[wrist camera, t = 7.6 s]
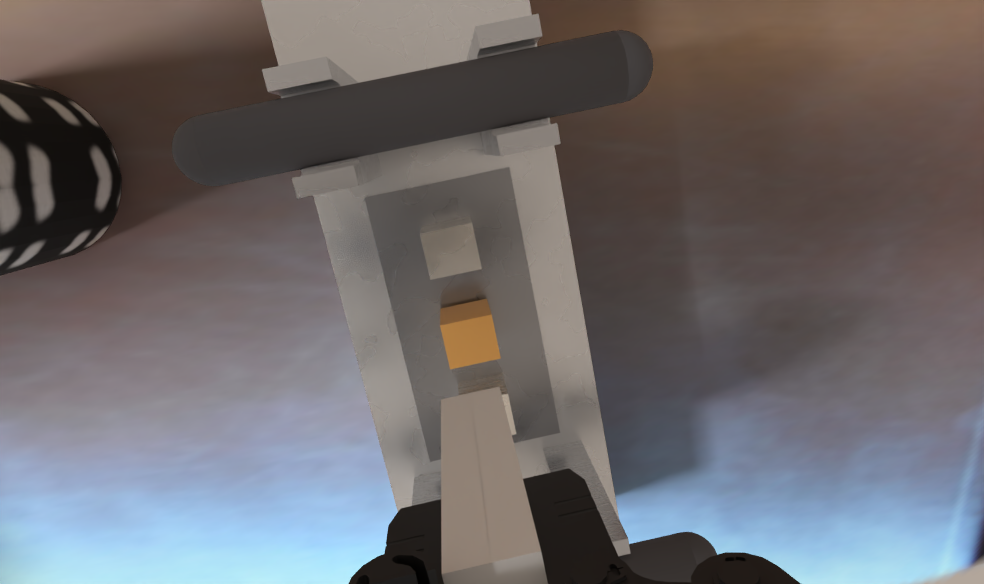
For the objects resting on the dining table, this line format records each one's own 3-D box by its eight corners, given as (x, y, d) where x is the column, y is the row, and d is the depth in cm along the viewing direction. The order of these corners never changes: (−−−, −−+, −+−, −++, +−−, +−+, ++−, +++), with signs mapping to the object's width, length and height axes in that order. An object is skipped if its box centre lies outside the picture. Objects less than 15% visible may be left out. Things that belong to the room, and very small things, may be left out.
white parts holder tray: (428, 540, 36) (420, 764, 23) (296, 28, 29) (179, -70, 16) (597, 502, 36) (685, 701, 23) (504, -14, 30) (553, -143, 16)
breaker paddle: (449, 348, 26) (450, 369, 24) (440, 308, 26) (439, 325, 24) (495, 338, 27) (500, 358, 24) (486, 298, 26) (491, 314, 24)
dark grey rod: (200, 190, 19) (172, 195, 17) (179, 123, 19) (148, 121, 17) (644, 98, 19) (667, 92, 17) (635, 31, 19) (657, 17, 17)
